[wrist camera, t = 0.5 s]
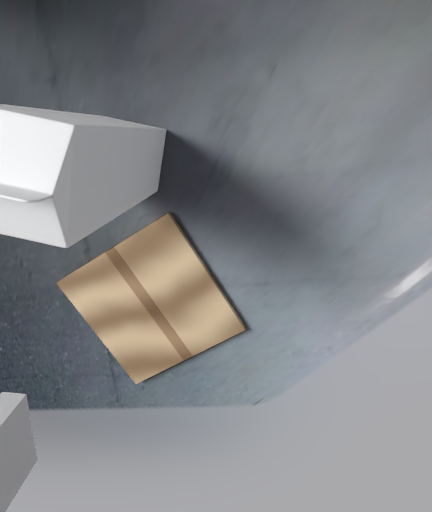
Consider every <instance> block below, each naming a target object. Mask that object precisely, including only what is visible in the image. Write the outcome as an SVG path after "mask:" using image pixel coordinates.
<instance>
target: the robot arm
mask: <svg viewBox="0 0 432 512" xmlns="http://www.w3.org/2000/svg"><path fill="white" fill-rule="evenodd" d="M36 461H37V455H36V449H35V443H34V438H33V431H32V425H31V420H30V413H29V408H28V402H27V396H26V394H19V393H9V392H2V393H1V394H0V512H5V511H6V510H7V508H8V506H9V505H10V503H11V501H12V500H13V498H14V497H15V495H16V494H17V492H18V490H19V489H20V487H21V485H22V484H23V482H24V481H25V479H26V477H27V476H28V474H29V472H30V471H31V469H32V468H33V466H34V464H35V463H36Z"/></svg>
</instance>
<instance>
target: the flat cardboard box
mask: <svg viewBox="0 0 432 512" xmlns="http://www.w3.org/2000/svg"><path fill="white" fill-rule="evenodd" d="M57 285H58V286H59V287H60V288H61V290H62V291H63V292H64V293H65V295H66V296H67V297H68V299H69V300H70V301H71V302H72V304H73V305H74V306H75V307H76V309H77V310H78V311H79V312H80V314H81V315H82V316H83V318H84V319H85V320H86V321H87V323H88V324H89V325H90V326H91V328H92V329H93V330H94V332H95V333H96V334H97V335H98V337H99V338H100V339H101V340H102V342H103V343H104V344H105V345H106V347H107V348H108V349H109V351H110V352H111V353H112V354H113V356H114V357H115V358H116V359H117V361H118V362H119V363H120V364H121V366H122V367H123V368H124V370H125V371H126V372H127V373H128V375H129V376H130V377H131V378H132V380H133V381H134V382H135V384H137V383H139V382H141V381H143V380H145V379H148V378H150V377H152V376H154V375H156V374H158V373H160V372H162V371H164V370H166V369H168V368H170V367H172V366H174V365H176V364H178V363H180V362H182V361H184V360H186V359H188V358H190V357H192V356H194V355H196V354H198V353H200V352H202V351H204V350H206V349H208V348H210V347H212V346H214V345H216V344H218V343H220V342H222V341H224V340H226V339H229V338H231V337H233V336H235V335H237V334H239V333H241V332H243V331H245V325H244V324H243V322H242V320H241V319H240V317H239V316H238V314H237V313H236V311H235V310H234V308H233V307H232V305H231V304H230V302H229V301H228V299H227V298H226V296H225V295H224V293H223V292H222V290H221V289H220V287H219V286H218V284H217V283H216V281H215V279H214V278H213V276H212V275H211V273H210V272H209V270H208V269H207V267H206V266H205V264H204V263H203V261H202V260H201V258H200V257H199V255H198V254H197V252H196V251H195V249H194V248H193V246H192V245H191V243H190V242H189V240H188V239H187V237H186V235H185V234H184V232H183V231H182V229H181V228H180V226H179V225H178V223H177V222H176V220H175V219H174V217H173V216H172V214H171V213H170V212H169V213H167V214H165V215H164V216H162V217H161V218H159V219H157V220H156V221H154V222H153V223H151V224H149V225H148V226H146V227H145V228H143V229H141V230H140V231H138V232H136V233H135V234H133V235H132V236H130V237H128V238H127V239H125V240H124V241H122V242H120V243H119V244H117V245H116V246H114V247H112V248H111V249H109V250H108V251H106V252H104V253H103V254H101V255H100V256H98V257H96V258H95V259H93V260H92V261H90V262H88V263H87V264H85V265H84V266H82V267H80V268H79V269H77V270H75V271H74V272H72V273H71V274H69V275H67V276H66V277H64V278H63V279H61V280H60V281H58V282H57Z"/></svg>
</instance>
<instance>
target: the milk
mask: <svg viewBox="0 0 432 512" xmlns="http://www.w3.org/2000/svg"><path fill="white" fill-rule="evenodd" d="M165 137H166V129H163V128H158V127H153V126H149V125H144V124H139V123H134V122H130V121H125V120H120V119H116V118H111V117H106V116H98V115H89V114H81V113H72V112H64V111H55V110H47V109H38V108H30V107H21V106H13V105H4V104H0V234H4V235H8V236H13V237H17V238H22V239H26V240H31V241H36V242H40V243H45V244H49V245H54V246H58V247H63V248H68V247H70V246H71V245H73V244H75V243H76V242H78V241H79V240H81V239H83V238H84V237H86V236H87V235H89V234H90V233H92V232H94V231H95V230H97V229H98V228H100V227H102V226H103V225H105V224H106V223H108V222H110V221H111V220H113V219H114V218H116V217H117V216H119V215H121V214H122V213H124V212H125V211H127V210H129V209H130V208H132V207H133V206H135V205H136V204H138V203H140V202H141V201H143V200H144V199H146V198H148V197H149V196H151V195H152V194H154V193H155V192H157V191H158V186H159V179H160V172H161V165H162V158H163V151H164V144H165Z"/></svg>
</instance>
